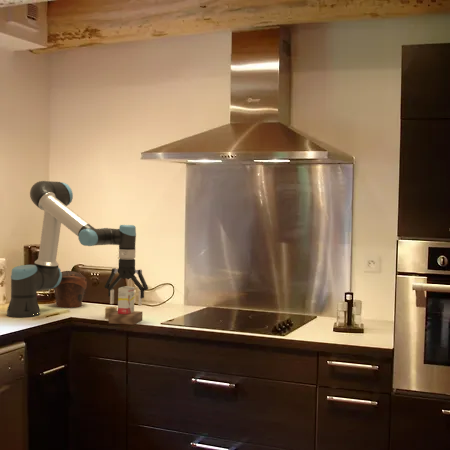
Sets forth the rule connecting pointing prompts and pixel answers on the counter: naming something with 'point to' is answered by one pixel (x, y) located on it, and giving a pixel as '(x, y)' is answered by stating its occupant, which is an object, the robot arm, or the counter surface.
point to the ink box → (126, 300)
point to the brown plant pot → (70, 290)
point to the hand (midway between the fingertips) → (126, 304)
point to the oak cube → (109, 311)
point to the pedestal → (125, 318)
